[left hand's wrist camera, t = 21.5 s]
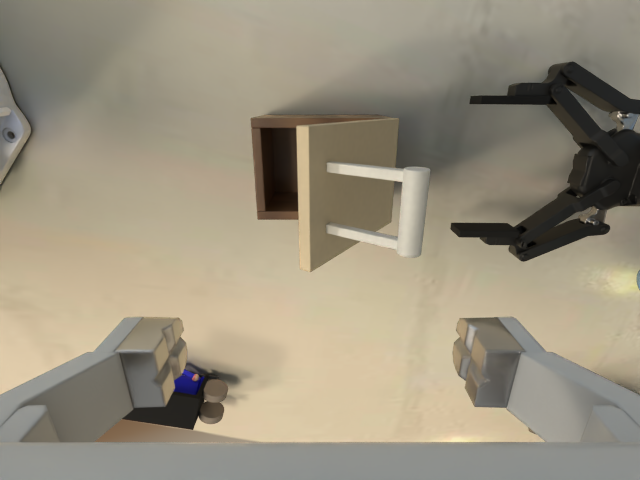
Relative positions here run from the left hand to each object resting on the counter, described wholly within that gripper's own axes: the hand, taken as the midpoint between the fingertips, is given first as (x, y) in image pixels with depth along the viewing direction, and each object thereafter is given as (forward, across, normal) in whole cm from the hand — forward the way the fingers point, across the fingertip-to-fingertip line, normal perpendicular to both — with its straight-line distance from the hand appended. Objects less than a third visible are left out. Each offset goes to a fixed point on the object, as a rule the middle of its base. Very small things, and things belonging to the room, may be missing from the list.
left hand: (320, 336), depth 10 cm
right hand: (+28, -15, 0) cm, 32 cm away
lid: (+20, -3, 0) cm, 21 cm away
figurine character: (+36, +22, +34) cm, 54 cm away
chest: (+36, 0, 0) cm, 36 cm away
